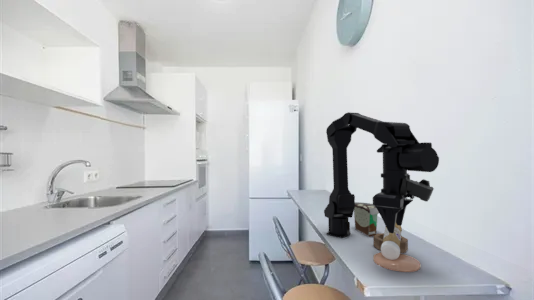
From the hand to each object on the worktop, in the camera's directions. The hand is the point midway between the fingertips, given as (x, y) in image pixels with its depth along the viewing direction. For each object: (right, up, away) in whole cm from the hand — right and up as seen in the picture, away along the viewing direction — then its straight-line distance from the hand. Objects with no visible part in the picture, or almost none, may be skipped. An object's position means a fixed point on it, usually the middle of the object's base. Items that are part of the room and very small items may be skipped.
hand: (395, 228), depth 67 cm
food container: (+4, -10, +26) cm, 28 cm away
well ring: (+4, -9, +11) cm, 15 cm away
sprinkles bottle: (+5, -3, +11) cm, 12 cm away
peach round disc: (0, -9, 0) cm, 9 cm away
